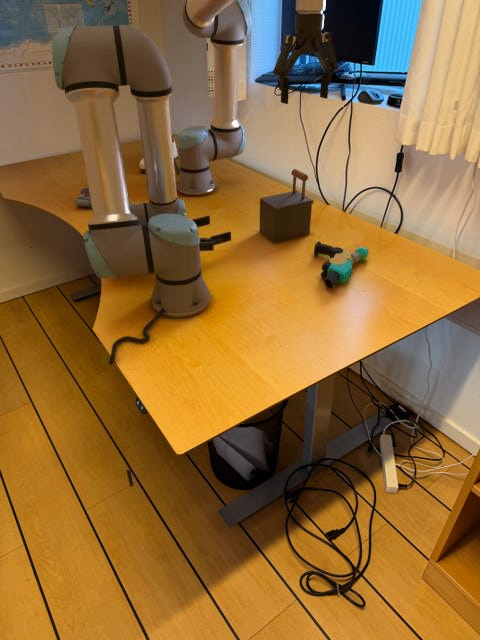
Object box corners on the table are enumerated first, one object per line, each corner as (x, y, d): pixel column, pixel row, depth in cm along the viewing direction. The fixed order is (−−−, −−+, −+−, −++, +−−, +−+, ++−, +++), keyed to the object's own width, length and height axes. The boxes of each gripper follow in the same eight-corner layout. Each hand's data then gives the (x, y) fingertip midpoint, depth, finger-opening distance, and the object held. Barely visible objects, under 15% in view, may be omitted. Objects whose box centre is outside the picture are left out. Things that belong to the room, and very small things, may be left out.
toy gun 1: (132, 197, 185) (117, 212, 173) (88, 194, 188) (70, 209, 177) (131, 187, 183) (115, 202, 171) (86, 184, 186) (67, 199, 174)
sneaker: (133, 173, 208) (129, 144, 201) (161, 153, 230) (158, 127, 223) (155, 175, 205) (151, 146, 198) (180, 155, 227) (178, 129, 220)
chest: (293, 223, 165) (295, 193, 158) (309, 234, 158) (312, 203, 151) (259, 231, 159) (259, 201, 153) (274, 243, 152) (275, 212, 146)
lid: (296, 193, 158) (298, 166, 153) (313, 203, 152) (315, 174, 146) (259, 201, 153) (260, 173, 148) (275, 212, 146) (276, 183, 141)
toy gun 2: (291, 269, 129) (345, 283, 123) (323, 233, 148) (371, 243, 142) (290, 283, 132) (343, 297, 126) (322, 246, 150) (369, 256, 145)
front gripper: (141, 239, 149) (201, 224, 158) (174, 274, 132) (240, 254, 141) (138, 217, 145) (200, 202, 153) (172, 250, 127) (239, 231, 136)
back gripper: (339, 9, 131) (331, 93, 144) (261, 13, 122) (260, 102, 134) (356, 11, 126) (347, 97, 138) (276, 15, 117) (274, 107, 129)
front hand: (219, 227), depth 147 cm, fingers open, 13 cm apart
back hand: (304, 100), depth 136 cm, fingers open, 13 cm apart
